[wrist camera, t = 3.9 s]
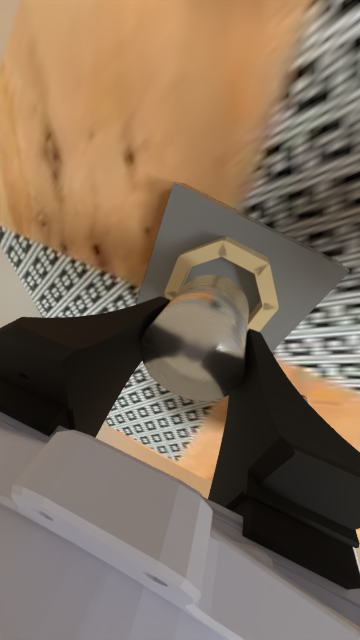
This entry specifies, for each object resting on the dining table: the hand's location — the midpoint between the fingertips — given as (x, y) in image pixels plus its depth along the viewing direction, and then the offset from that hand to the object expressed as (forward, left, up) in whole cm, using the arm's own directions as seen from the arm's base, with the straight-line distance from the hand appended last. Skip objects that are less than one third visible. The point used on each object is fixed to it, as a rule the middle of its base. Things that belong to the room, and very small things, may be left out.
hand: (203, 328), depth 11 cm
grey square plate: (0, 0, -9) cm, 9 cm away
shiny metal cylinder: (0, 0, -2) cm, 2 cm away
